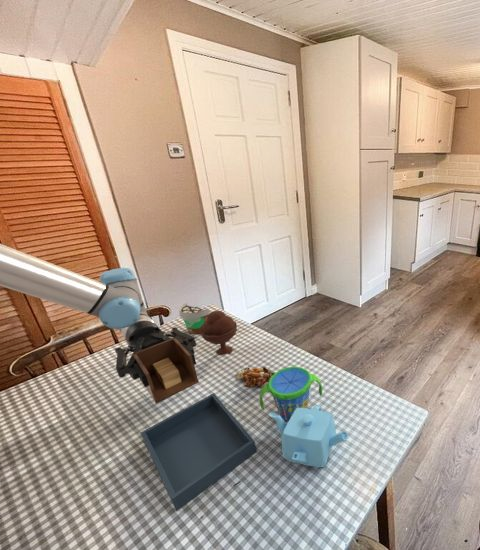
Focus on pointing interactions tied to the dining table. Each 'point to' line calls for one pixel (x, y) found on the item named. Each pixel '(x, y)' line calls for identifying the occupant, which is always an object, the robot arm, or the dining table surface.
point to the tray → (197, 448)
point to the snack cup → (290, 390)
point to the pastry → (255, 376)
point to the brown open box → (177, 357)
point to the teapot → (308, 436)
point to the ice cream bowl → (219, 331)
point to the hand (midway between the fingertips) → (170, 370)
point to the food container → (194, 318)
